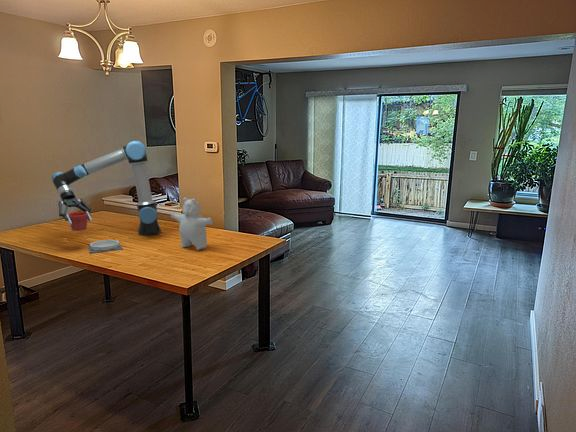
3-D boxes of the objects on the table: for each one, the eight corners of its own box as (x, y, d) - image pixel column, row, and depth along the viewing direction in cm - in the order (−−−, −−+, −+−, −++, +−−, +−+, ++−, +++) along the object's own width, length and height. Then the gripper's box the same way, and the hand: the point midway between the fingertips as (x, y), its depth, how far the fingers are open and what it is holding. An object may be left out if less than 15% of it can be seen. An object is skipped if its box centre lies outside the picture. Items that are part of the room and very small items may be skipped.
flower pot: (93, 228, 242) (91, 213, 240) (75, 232, 233) (74, 216, 231) (82, 226, 248) (81, 211, 246) (65, 230, 239) (63, 214, 236)
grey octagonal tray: (118, 242, 258) (118, 238, 257) (123, 249, 243) (122, 245, 242) (87, 245, 249) (87, 241, 248) (90, 253, 234) (89, 249, 233)
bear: (163, 246, 251) (161, 196, 245) (180, 241, 263) (178, 193, 257) (205, 255, 234) (204, 202, 227) (221, 249, 246) (220, 198, 240)
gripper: (84, 195, 255) (98, 222, 249) (44, 200, 237) (58, 229, 231) (87, 188, 251) (101, 215, 244) (47, 192, 233) (61, 222, 227)
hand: (80, 222), depth 238 cm, fingers closed on flower pot, 11 cm apart
